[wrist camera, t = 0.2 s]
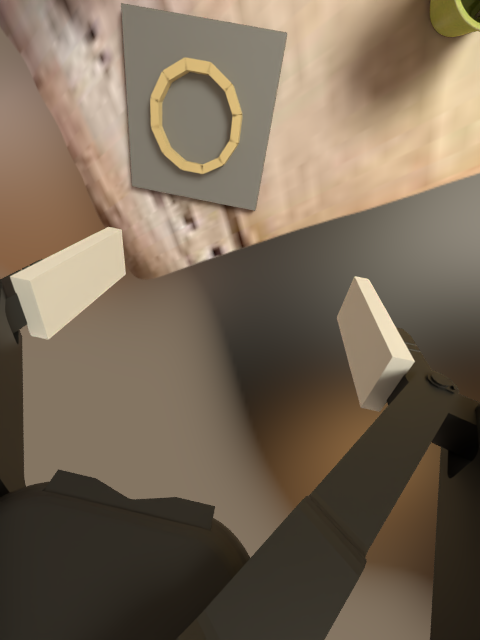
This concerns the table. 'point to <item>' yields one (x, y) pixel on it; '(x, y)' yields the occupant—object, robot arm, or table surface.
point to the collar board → (199, 103)
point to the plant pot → (455, 16)
